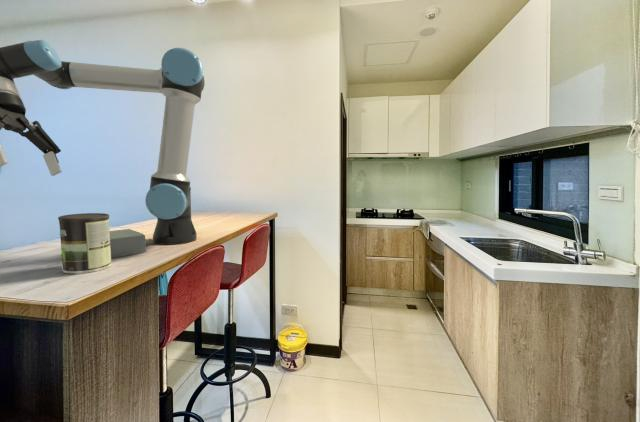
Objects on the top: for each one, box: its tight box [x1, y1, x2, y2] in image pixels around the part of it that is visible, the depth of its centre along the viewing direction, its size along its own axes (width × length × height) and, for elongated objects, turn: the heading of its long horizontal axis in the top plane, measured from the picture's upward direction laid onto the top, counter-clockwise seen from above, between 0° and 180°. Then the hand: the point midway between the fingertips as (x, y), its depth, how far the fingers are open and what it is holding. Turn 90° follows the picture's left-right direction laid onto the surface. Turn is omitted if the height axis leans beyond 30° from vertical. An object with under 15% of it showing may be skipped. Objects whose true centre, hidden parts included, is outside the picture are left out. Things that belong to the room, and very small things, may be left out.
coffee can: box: [57, 212, 113, 275], centre depth 75 cm, size 10×10×14 cm
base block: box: [109, 228, 147, 259], centre depth 91 cm, size 13×13×6 cm
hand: (31, 169), depth 76 cm, fingers open, 13 cm apart
